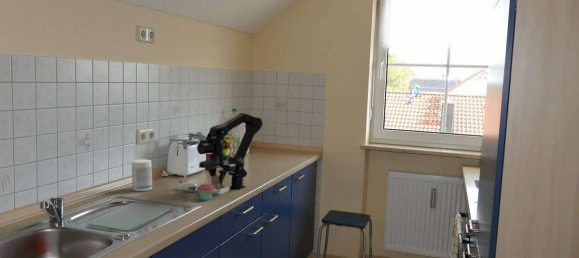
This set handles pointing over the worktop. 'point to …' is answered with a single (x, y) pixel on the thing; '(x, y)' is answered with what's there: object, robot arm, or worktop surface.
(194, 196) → the worktop surface
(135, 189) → the supplement tub
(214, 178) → the stop block
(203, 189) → the cupcake
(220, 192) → the tray
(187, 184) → the crank
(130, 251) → the worktop surface
